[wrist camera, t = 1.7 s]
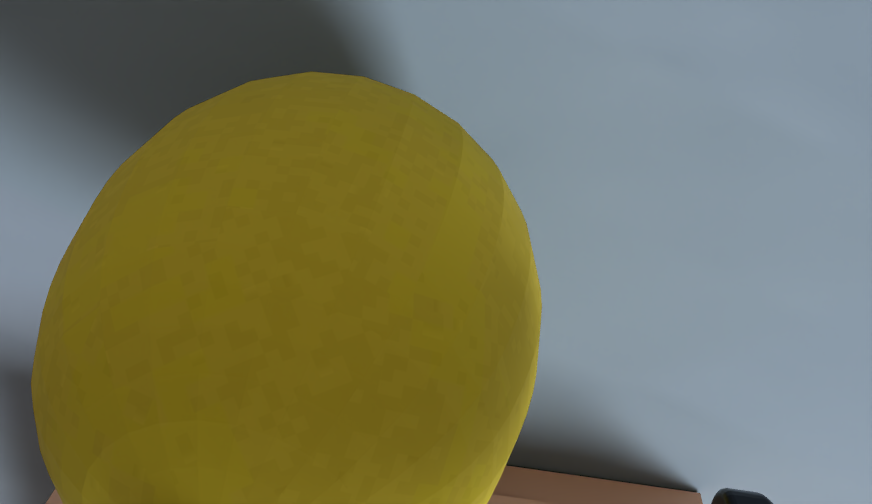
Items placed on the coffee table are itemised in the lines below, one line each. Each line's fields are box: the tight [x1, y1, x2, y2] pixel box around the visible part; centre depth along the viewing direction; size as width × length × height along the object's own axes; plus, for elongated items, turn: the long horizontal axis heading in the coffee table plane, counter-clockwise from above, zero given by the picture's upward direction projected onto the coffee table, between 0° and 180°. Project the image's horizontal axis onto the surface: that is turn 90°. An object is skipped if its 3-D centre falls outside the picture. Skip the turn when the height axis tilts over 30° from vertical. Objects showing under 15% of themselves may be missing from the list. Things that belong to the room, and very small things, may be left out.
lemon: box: [31, 71, 542, 504], centre depth 10 cm, size 6×6×8 cm
